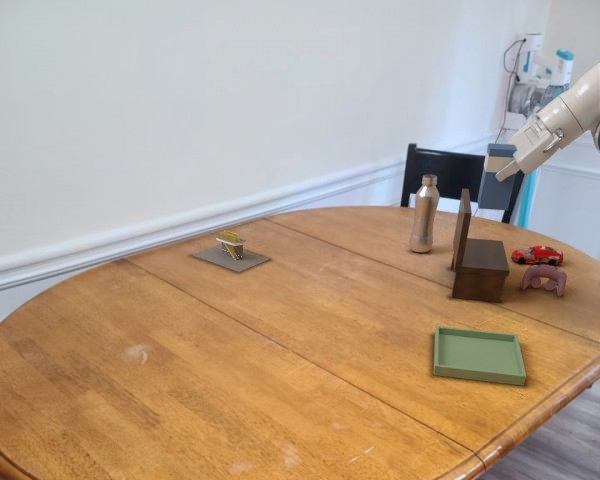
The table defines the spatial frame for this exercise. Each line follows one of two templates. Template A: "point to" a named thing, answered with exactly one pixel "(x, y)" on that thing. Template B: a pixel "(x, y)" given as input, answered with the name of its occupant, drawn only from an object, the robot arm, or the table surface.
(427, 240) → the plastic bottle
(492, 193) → the box
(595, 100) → the robot arm
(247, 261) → the platform
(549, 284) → the video game controller
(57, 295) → the table surface
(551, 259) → the race car
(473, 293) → the wooden toy chair
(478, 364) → the tray
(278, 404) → the table surface
